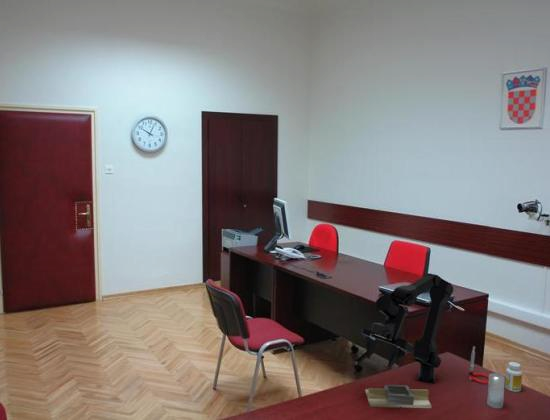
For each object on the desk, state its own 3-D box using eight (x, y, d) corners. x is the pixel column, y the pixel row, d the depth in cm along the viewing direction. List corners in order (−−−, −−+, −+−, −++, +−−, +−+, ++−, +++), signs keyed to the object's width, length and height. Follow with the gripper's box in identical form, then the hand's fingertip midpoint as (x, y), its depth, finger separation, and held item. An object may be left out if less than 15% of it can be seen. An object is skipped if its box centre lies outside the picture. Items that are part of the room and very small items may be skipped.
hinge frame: (365, 391, 179) (365, 379, 178) (422, 393, 178) (423, 381, 178) (370, 406, 168) (370, 394, 167) (431, 408, 167) (431, 395, 167)
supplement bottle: (522, 388, 183) (524, 364, 182) (518, 393, 179) (520, 368, 178) (507, 384, 186) (509, 359, 185) (503, 388, 182) (504, 364, 181)
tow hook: (493, 378, 192) (469, 372, 196) (497, 347, 191) (472, 342, 194) (493, 387, 185) (467, 381, 188) (497, 355, 183) (471, 349, 187)
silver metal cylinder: (486, 400, 174) (488, 372, 172) (502, 402, 172) (504, 374, 171) (487, 406, 169) (489, 378, 168) (503, 409, 167) (505, 380, 166)
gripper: (361, 306, 175) (345, 347, 171) (405, 320, 161) (388, 364, 157) (377, 317, 182) (361, 356, 177) (420, 331, 167) (404, 374, 163)
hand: (377, 362), depth 169 cm, fingers open, 9 cm apart
